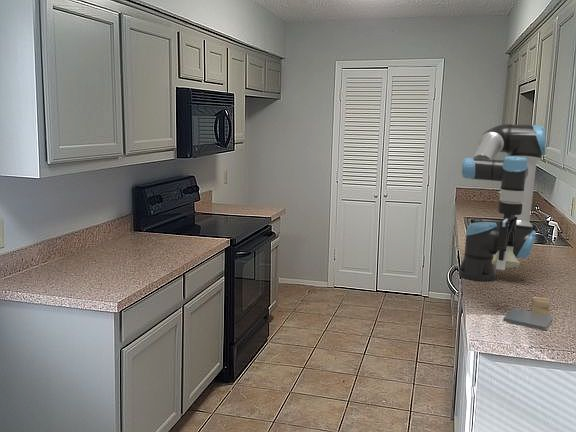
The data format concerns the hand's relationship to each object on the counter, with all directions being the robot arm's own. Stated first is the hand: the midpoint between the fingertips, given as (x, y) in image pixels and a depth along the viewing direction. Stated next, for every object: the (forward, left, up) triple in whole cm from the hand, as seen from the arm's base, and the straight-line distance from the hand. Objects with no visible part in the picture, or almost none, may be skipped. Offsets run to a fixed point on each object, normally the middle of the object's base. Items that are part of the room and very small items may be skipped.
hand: (503, 266), depth 198 cm
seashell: (0, +1, 0) cm, 1 cm away
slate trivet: (+6, +11, -15) cm, 20 cm away
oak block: (-5, +12, -15) cm, 20 cm away
